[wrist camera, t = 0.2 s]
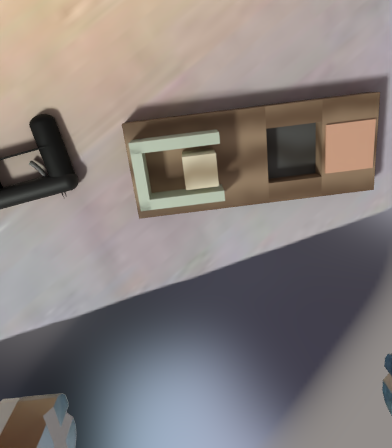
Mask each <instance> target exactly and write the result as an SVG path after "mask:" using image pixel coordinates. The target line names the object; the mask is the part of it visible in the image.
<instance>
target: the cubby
mask: <svg viewBox="0 0 392 448" xmlns="http://www.w3.org/2000/svg"><path fill="white" fill-rule="evenodd" d="M128 144H129V149H130V155H131V160H132V166H133V171H134V177H135V182H136V187H137V193H138V198H139V204H140V209H141V211H147V210H155V209H163V208H171V207H179V206H188V205H196V204H204V203H212V202H220V201H225V193H224V189H223V187H222V184H221V185H219V186H217V187H208V188H200V189H192V190H186V189H180V190H172V191H164V192H156V193H152V192H151V187H150V181H149V175H148V169H147V163H146V157H145V153H149V152H157V151H165V150H173V149H181V148H189V147H197V146H205V145H213V144H220V138H219V132H218V131H217V129H216V130H208V131H200V132H192V133H184V134H176V135H167V136H159V137H151V138H143V139H135V140H131V141H130V142H129V143H128Z"/></svg>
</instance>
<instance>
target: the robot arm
mask: <svg viewBox="0 0 392 448" xmlns="http://www.w3.org/2000/svg"><path fill="white" fill-rule="evenodd" d="M384 367H385V368H386V369H387V371H388V372H389V374H388V375H387V376H386V377H385V378H384V379H383V387H382V391H383V396H384V400H385V403H386V405H387V408H388V410H389V412H390V413H391V415H392V353H389V354H387V356H386V357H385V364H384ZM68 405H69V404H68V401H67V398H66V396H65V394H61V393H60V394H50V395H39V396H29V397H22V398H12V399H3V400H2V401H1V402H0V448H75V444H76V425H75V422H74V419H73V417H72V416H70V415H69V414H68V413H66V411H67V408H68Z"/></svg>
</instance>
